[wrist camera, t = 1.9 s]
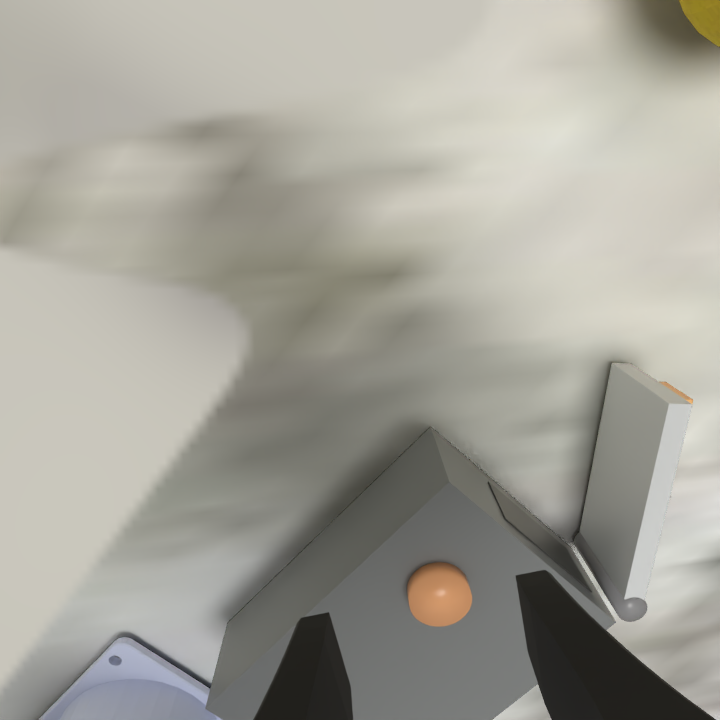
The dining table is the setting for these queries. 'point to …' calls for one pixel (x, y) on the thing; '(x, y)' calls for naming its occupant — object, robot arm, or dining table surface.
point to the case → (410, 596)
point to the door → (631, 484)
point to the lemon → (704, 17)
